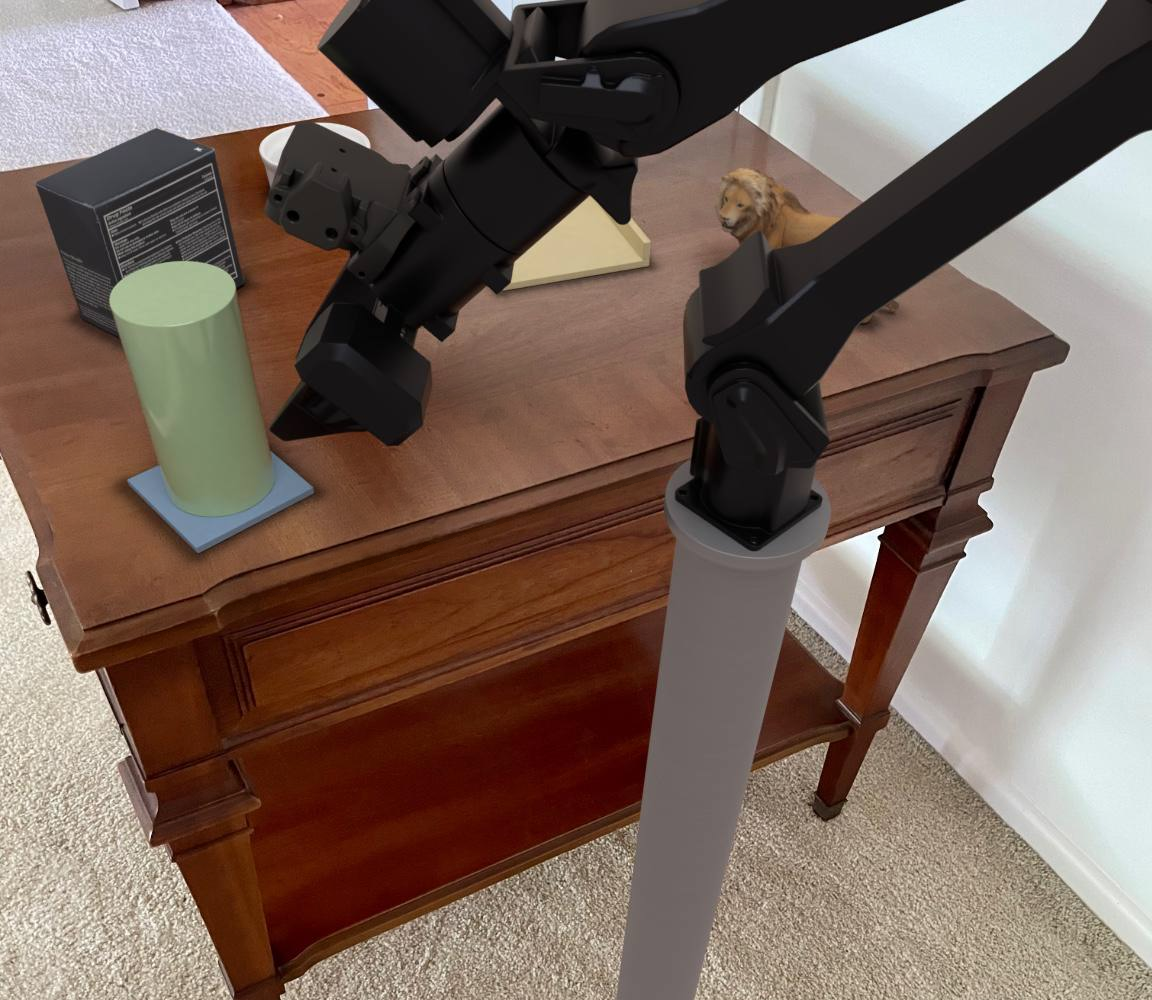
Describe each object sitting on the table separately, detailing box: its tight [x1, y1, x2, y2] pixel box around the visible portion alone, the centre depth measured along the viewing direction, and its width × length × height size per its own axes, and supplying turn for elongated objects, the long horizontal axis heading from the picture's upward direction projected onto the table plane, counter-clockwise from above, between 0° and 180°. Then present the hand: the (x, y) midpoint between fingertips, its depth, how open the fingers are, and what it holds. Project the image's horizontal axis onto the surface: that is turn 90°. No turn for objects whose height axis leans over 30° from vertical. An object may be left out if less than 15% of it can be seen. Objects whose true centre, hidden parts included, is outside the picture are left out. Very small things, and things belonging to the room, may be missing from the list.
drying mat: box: [126, 450, 315, 554], centre depth 69 cm, size 8×8×1 cm
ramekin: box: [258, 122, 372, 189], centre depth 93 cm, size 9×9×4 cm
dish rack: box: [502, 196, 652, 291], centre depth 90 cm, size 14×12×5 cm
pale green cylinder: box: [109, 261, 275, 517], centre depth 64 cm, size 6×6×13 cm
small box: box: [34, 127, 245, 339], centre depth 79 cm, size 11×6×10 cm, turn 146°
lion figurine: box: [714, 167, 900, 324], centre depth 83 cm, size 15×5×9 cm, turn 73°
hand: (295, 382), depth 63 cm, fingers open, 9 cm apart
